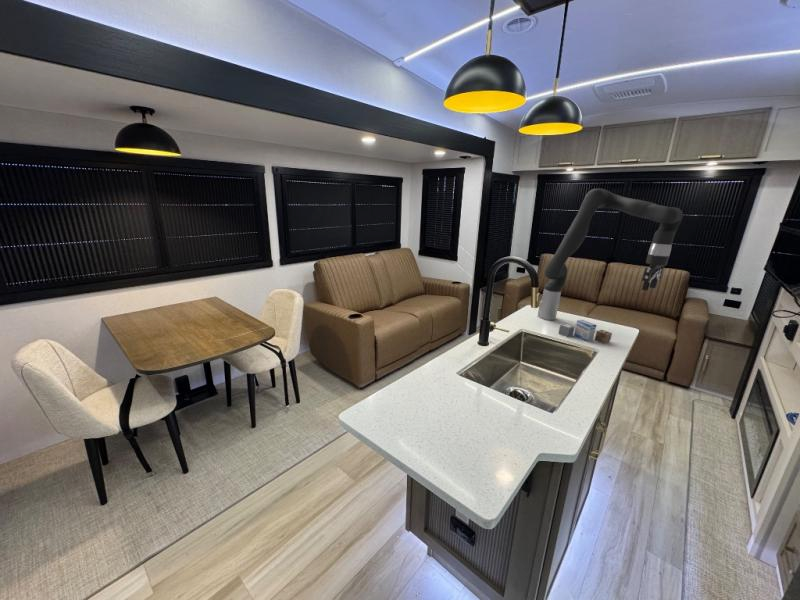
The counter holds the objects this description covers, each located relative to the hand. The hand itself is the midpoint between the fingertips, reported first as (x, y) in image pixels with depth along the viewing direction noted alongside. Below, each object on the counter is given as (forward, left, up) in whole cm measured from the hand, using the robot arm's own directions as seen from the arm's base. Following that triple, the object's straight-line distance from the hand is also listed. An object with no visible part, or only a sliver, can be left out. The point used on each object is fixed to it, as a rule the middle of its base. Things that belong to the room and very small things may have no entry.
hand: (648, 289), depth 147 cm
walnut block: (-11, -6, -29) cm, 32 cm away
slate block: (-25, -15, -29) cm, 41 cm away
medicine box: (-18, -11, -30) cm, 36 cm away
